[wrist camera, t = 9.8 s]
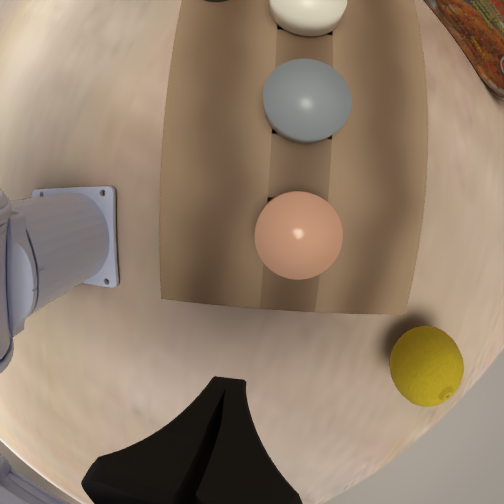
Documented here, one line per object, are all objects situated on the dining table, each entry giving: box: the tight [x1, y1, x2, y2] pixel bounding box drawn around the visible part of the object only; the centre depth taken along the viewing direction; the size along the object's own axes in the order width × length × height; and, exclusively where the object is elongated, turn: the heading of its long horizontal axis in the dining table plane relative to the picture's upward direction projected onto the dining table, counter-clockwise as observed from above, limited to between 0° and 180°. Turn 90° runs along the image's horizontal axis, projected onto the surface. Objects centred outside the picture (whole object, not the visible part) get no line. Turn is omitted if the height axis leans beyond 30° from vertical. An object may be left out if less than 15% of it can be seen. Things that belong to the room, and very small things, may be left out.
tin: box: [424, 0, 504, 98], centre depth 11 cm, size 15×3×8 cm, turn 34°
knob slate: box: [263, 59, 352, 144], centre depth 15 cm, size 4×4×5 cm
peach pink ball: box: [254, 191, 343, 280], centre depth 17 cm, size 4×4×5 cm
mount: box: [160, 0, 428, 314], centre depth 16 cm, size 16×24×5 cm, turn 177°
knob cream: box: [269, 0, 347, 36], centre depth 13 cm, size 4×4×5 cm
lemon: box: [390, 326, 464, 407], centre depth 18 cm, size 6×6×8 cm
